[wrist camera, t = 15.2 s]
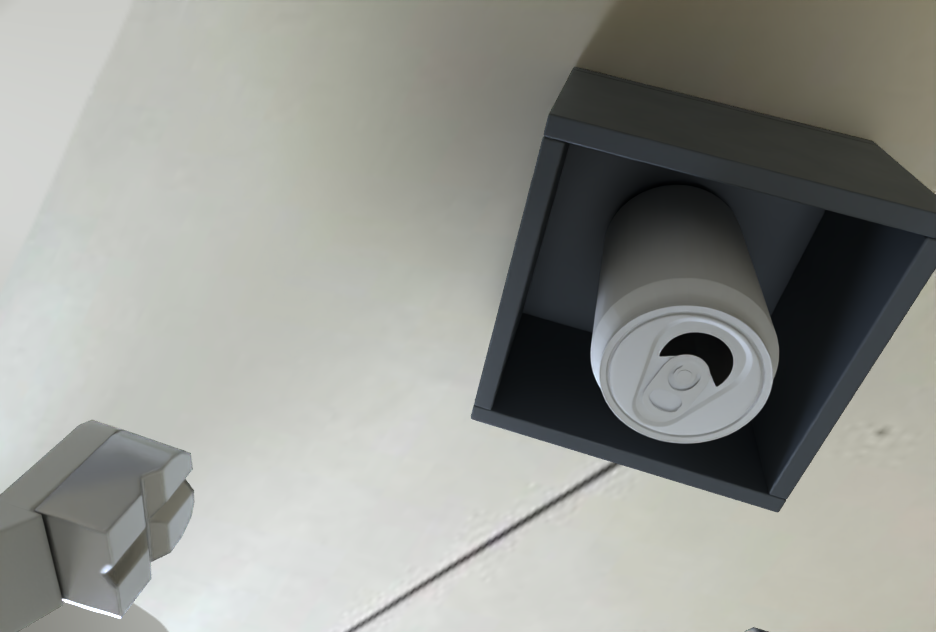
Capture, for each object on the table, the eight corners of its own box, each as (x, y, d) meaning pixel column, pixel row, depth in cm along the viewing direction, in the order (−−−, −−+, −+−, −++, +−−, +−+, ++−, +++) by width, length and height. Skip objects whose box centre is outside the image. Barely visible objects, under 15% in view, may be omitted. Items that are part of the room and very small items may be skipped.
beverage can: (769, 220, 31) (832, 357, 21) (688, 321, 34) (707, 481, 24) (650, 154, 31) (655, 260, 20) (580, 263, 34) (554, 400, 24)
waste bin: (573, 66, 30) (549, 112, 22) (874, 141, 29) (967, 221, 21) (507, 313, 37) (469, 419, 29) (746, 382, 36) (778, 513, 28)
